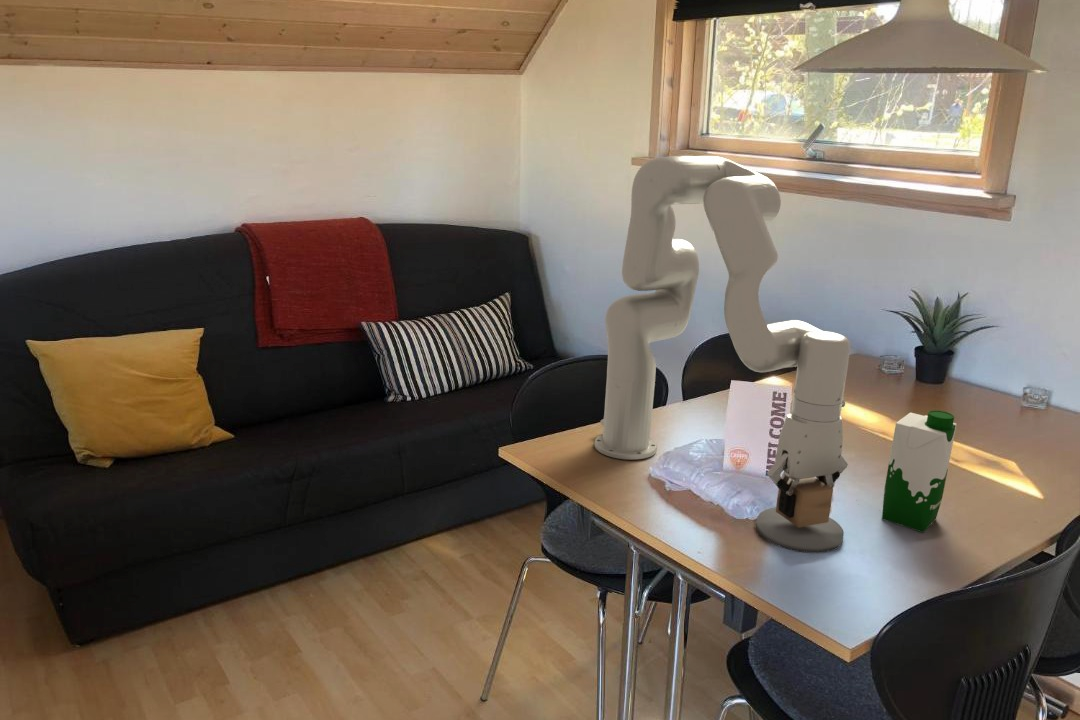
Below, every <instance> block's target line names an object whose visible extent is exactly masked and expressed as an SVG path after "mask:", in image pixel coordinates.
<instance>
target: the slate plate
mask: <svg viewBox="0 0 1080 720" xmlns="http://www.w3.org/2000/svg"><path fill="white" fill-rule="evenodd" d="M755 528H756V531H757V532H758V534H759V535H760V536H761V537H763V539H765V540H766V541H768V542H769V543H771V544H774V545H775V546H778V547H779V548H783V549H787V550H791V551H795V552H801V553H809V554H819V553H821V554H822V553H828V552H831V551H834V550H836V549H838V548H839V547H840V546H841V545H842V544H843V539H844V534H845V533H844V529H843V528H842V526H841V525H840V523H838V522H837V521H836V520H834V519H833V518H831V517H830V516H829V520H828V522H827V523H821V524H816V525H810V526H804V527H799V528H798V527H797V526H796V525H794V524H793V523H791V522H790V521H788V520H787V519H786V518H784V517H783V516H781V515H780V514H778V513H777V512H776V506H775V507H771V508H766V509H764V510H762V511H761V512H760V513H758V515H757V517H756V523H755Z"/></svg>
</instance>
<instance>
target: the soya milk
mask: <svg viewBox="0 0 1080 720" xmlns="http://www.w3.org/2000/svg"><path fill="white" fill-rule="evenodd" d="M954 421H955V416H954V414H952V413H950V412H947V411H943V410H929V411H928V413H927V415H922V414H918V413H914V412H909V413H908V414H906V415H904V416H903V417H902V418H900V419H899V420H898V421H897V422H896V423H895V427H894V432H893V438H892V443H891V447H890V448H891V449H890V454H889V461H888V467H887V471H886V476H885V484H884V491H883V501H882V515H881V519H882V520H884V521H887V522H890V523H894V524H896V525H898V526H899V525H900V526H902V527H906V528H908V529H909V528H910V529H912V530H915V531H918V532H921V533H925V531H926V530H928V528H929V527H930V526H931V525H932V523H934V521H935V520H937V517H938V513H939V510H940V506H941V503H942V500H943V495H944V491H945V486H946V480H947V476H948V469H949V464H950V462H951V461H950V460H951V454H952V448H953V445H954V440H955V439H954V438H955V434H956V430H957V426H958V425H957V423H956V422H954Z"/></svg>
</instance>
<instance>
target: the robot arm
mask: <svg viewBox="0 0 1080 720" xmlns="http://www.w3.org/2000/svg"><path fill="white" fill-rule="evenodd" d="M631 186H632V187H631V195H630V196H631V206H630V207H631V208H630V217H629V224H628V230H627V235H626V240H625V247H624V252H623V253H624V254H623V259H622V267H621V268H622V269H621V275H622V280H623V282H624V284H625V285H626V287H627V288H629V289H631V290H633V291H639V292H646V293H640V294H633V295H625V296H623V297H621V298H618V299H616V300H615V301H613V302H612V303H611V304H610V305H609V307H608V308H607V311H606V314H605V321H604V322H605V331H606V339H607V367H606V385H605V398H604V413H603V414H604V415H603V419H601V420H600V425H601V426H602V429H603V430H602V433H601V434H600V435H597V437H595V439H594V444H593V445H594V448H595V450H596V451H597V452H599V453H601V454H602V455H604V456H606V457H611V458H613V459H619V460H632V461H634V460H635V461H636V460H637V461H638V460H643V459H648V458H651V457H652V456H654V455H655V454H656V453H657V451H658V449H657V448H658V444H657V442H656V441H655V440H654V439H652V438H651V430H652V417H653V406H654V397H655V386H656V383H655V382H656V374H657V373H656V372H657V371H656V369H657V365H656V358H655V357H654V354H653V352H652V350H651V347H650V343H653V342H657V341H663V340H669V339H672V338H675V337H678V336H680V334H682V333H683V332H684V331H685V329H686V327H687V326H688V324H689V321H690V317H691V312H692V308H693V304H694V298H695V294H696V288H697V284H698V279H699V272H700V262H699V257H698V253H697V251H696V249H695V247H694V246H693V245H692V244H691V243H690V242H689V241H687V240H685V239H684V238H683V239H682V238H677V237H674V234H675V232H676V231H675V230H676V224H677V223H676V216H675V212H674V209H673V205H675V206H676V205H700V204H702V205H703V208H704V212H705V215H706V217H707V220H708V223H709V226H710V227H711V230H712V234H713V237H714V239H715V241H716V243H717V247H718V249H719V251H720V254H721V257H722V260H723V262H724V264H725V268H726V270H727V273H728V281H727V284H726V288H725V292H724V302H723V303H724V305H723V306H724V307H723V313H724V321H725V322H724V323H725V325H726V329H727V331H728V335H729V336H730V339H731V340H730V341H732V344H733V347H734V349H735V352H736V354H737V356H738V357H739V359H740V360H741V362H742V363H743V364H744V365H745V366H746V367H747V368H748V369H749V370H751V371H753V372H757V373H767V372H768V373H769V372H774V371H776V370H780V369H787V368H793V367H795V368H796V367H797V368H796V376H795V382H794V389H793V397H792V405H791V413H789V414H786V416H785V418H784V422H783V425H782V428H781V430H780V434H779V438H778V442H777V448H776V453H775V459H774V464H773V465H772V466H771V467H770V469H769V470H767V473H766V475H767V477H768V478H769V479H770V480H771V481H772V482H773V483H774V485H775V486H776V487H777V489H778V490H779V489H780V490H781V492H780V500H779V511H780V512H782V513H783V514H784V515H786V516H787V517H789V518H791V517H793V515H794V507H795V500H796V495H794V494H793V493H794V491H795V489H796V487H797V485H798V483H799V480H800V479H804V478H811V477H814V478H816V479H818V480H819V481H821V482H823V483H824V484H826V485H828V486H829V487H831V488H833V489H834V486H835V484H834V483H835V482H836V481H837V480H838V479H839V477H840V475H841V474H842V473H843V472H844V471H845V470H846V469H847V467H849V466H848V465H849V464H848V462H847V461H846V460H845V459H844V456H842V452H843V444H844V443H843V440H844V435H843V434H844V432H843V431H844V430H843V428H844V427H843V418H842V417H841V414H842V408H844V407H845V406H846V401H845V399H844V392H845V388H846V387H845V386H846V380H847V373H848V368H849V367H848V366H849V359H850V353H851V343H850V340H849V339H848V338H847V337H846V336H845V335H843V334H840V333H837V332H833V331H827V330H826V331H825V330H822V329H819V328H818V327H815V326H814V325H812V324H809V322H806V321H802V320H800V319H799V320H798V319H789V320H783V321H779V322H778V321H777V322H772V323H767V322H766V318H765V316H764V314H763V312H762V308H761V306H760V300H759V299H760V298H759V291H760V286H761V282H762V281H763V278H764V276H765V275H766V274H767V272H768V271H770V270H771V269H772V268H773V267H774V266H775V265H776V263H777V261H778V259H779V255H778V252H777V248H776V247H775V244H774V242H773V240H772V237H771V234H770V232H769V229H768V227H767V225H766V224H768V223H770V222H772V221H773V220H775V219H776V217H777V216H778V214H779V212H780V209H781V201H782V199H781V195H780V191H779V190H778V187H777V186H776V184H775V183H774V182H773V181H772V180H771V179H770V178H768V177H767V176H766V175H763V174H762V173H760V172H757V171H754V170H752V169H749V168H748V167H745V166H743V165H742V164H739V163H736V162H734V161H732V160H730V159H727V158H724V157H721V156H717V155H716V156H714V155H669V156H662V157H657V158H653V159H651V160H649V161H647V162H645V163H644V164H643V165H641V167H640V168H639V169H638V170H637V172H636V174H635V176H634V178H633V182H632V185H631ZM647 291H648V293H647ZM649 291H655V292H649ZM781 474H782V475H781ZM789 478H791V481H790V483H789V485H788V484H787V482H788V480H789Z"/></svg>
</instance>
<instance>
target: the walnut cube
mask: <svg viewBox="0 0 1080 720" xmlns="http://www.w3.org/2000/svg"><path fill="white" fill-rule="evenodd" d="M790 481H791V478H789V480H788V482H787V484H788V485H789V483H790ZM780 492H781V490H780V489H778V491H777V497H776V506H775V507H776V512H777V513H778V514H780V515H781V516H783V517H784V518H786V519H787V520H788V521H790V522H791V523H793V524H794V525H796V526H797V527H798V528H799V527H804V526H810V525H816V524H821V523H827V522H828V520H829V517H830V512H831V505H832V500H833V499H832V498H833V493H834V487H833V488H831V487H829V486H828V485H826V484H824V483H823V482H821V481H819V480H818V479H817V478H816V477H811V478H804V479H800V480H799V483H798V485H797V487H796V489H795V491H794V493H793V494H794V495H796V500H795V507H794V515H793V517H791V518H789V517H787V516H786V515H784V514H783V513H782V512H780V511H779V500H780Z"/></svg>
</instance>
